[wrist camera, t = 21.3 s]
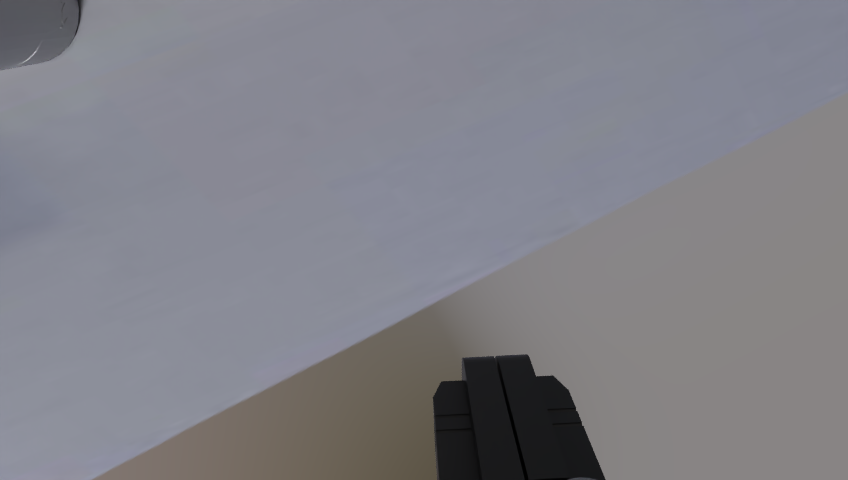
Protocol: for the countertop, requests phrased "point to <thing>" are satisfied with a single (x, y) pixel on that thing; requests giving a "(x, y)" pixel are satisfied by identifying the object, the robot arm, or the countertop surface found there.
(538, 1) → the countertop surface
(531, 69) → the countertop surface
